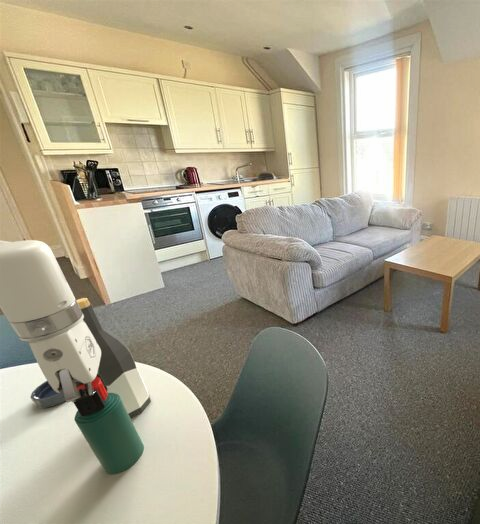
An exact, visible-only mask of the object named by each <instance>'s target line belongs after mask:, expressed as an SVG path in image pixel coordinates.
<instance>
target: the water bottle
mask: <svg viewBox="0 0 480 524" xmlns="http://www.w3.org/2000/svg"><path fill="white" fill-rule="evenodd" d="M107 394H108V395H107V398H106V399H105V400H104V401H103V402H104V404H105V407H104V409H101V410H99V411H97V412H94V413H92V414H89V415H87V416H81V414H80V413H79V411H78V410H77V411H76V412H75V415H74V420H73V421H74V422H75V424H76V425H77V427H78V429H79V431H80V432H81V434H82V436H83V437H84V439H85V441H86V442H87V444H88V446H89V447H90V449H91V450H92V452H93V454H94V455H95V457H96V458H97V460H98V462H99V464H100V465H101V467H102V469H103V471H104V472H105V473H106V474H108V475H117V474H119V473H122V472H124V471H126V470H128V469H129V468H131V467H132V466H133V465H135V464H136V462H138V461H139V459H140V458H141V457H142V455H143V453H144V450H145V449H144V448H145V445H144V443H143V441H142V438H141V437H140V435H139V433H138V431H137V428H136V427H135V425H134V423H133V421H132V419H131V418H130V417H129V414H128V412H127V410H126V408H125V406H124V404H123V402H122V400H121V398H120V396H119V395H118V394H115V393H107Z"/></svg>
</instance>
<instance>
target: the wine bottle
mask: <svg viewBox="0 0 480 524" xmlns="http://www.w3.org/2000/svg"><path fill="white" fill-rule="evenodd" d="M76 301H77V303H78V305H79V307H80V309H81V311H82V313H83V315H84V319H83V320H84V322H85V323H86V325H87V326H88V328H89V330H90V331H91V333H92V335H93V337H94V338H95V340H96V342H97V344H98V345H99V347H100V349H101V358H100V363H99V368H98V371H99V374H100V375H101V377H102V379H103V381H104V383H105V385H106V387H107V388H108V390H107V393H115V394H118V395H119V396H120V398H121V400H122V402H123V404H124V406H125V408H126V410H127V412H128V414H129V417H130V419H131V418H133V417H135V416H138V415H140V414H141V413H143V412H144V410H145V409H146V408H147V407H148V406H149V404H150V403H151V402H152V399H151V396H150V394H149V391H148V388H147V386H146V384H145V382H144V379H143V377H142V375H141V373H140V370H139V367H138V366H137V363H136V361H135V359H134V357H133V354H132V352H131V350H130V348H129V345H127V344H126V342H125V341H124V340H123V339H122V338H121V337H119V336H118V335H116V334H115V333H113V332H112V331H109V330H107V329H105V328H104V327H103V326H102V324H101V322H100V320H99V318H98V316H97V314H96V311H95V309H94V308H93V304H92V302H90V301H89V298H88V297H81V298H79V299H76ZM99 374H97V375H99Z"/></svg>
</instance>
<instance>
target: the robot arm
mask: <svg viewBox="0 0 480 524" xmlns="http://www.w3.org/2000/svg"><path fill="white" fill-rule="evenodd" d="M76 300H77V299H76V297H75V295H74V293H73V290H72V289H71V286H70V285H69V283H68V281H67V279H66V277H65V275H64V273H63V270H62V269H61V266H60V265H59V262H58V261H57V259H56V256H55V254H54V253H53V251H52V249H51V247H50V246H49V245H48V244H47V243H46V242H44V241H41V240H37V239H27V240H25V239H24V240H17V241H6V240H0V310H1V312H2V313H3V315H4V316H5V318H6V319H7V321H8V323H9V324H10V326H11V328H12V329H13V331H14V333H15V334H16V336H17V337H18V339H19V340H20V341H21V342H28V345H29V346H30V349H31V352H32V354H33V356H34V359H35V360H36V362H37V364H38V367H39V369H40V370H41V372H42V373H43V376H44V378H45V379H46V381H48V383H49V384H50V386H51V387H52V388H53V389H54V391H56V392H58V393H62V392H64V396H65V400H66V401H65V402H66V403H70V402H71V403H73V404H74V406H75V408H76V409H77V411H79V413H80V414H81V416H87V415H89V414H92V413H94V412H97V411H99V410H101V409H104V407H105V404H104V402H103V400H102V398H101V396H100V394H99V393H98V391H97V390H94V389H93V387H92V384H91V382H92V381H93V380H94V379H95V377H99V378H100V380H101V381H102V383H103V385H104V387H105V389H106V391H107V390H108V388H107V387H106V385H105V383H104V381H103V379H102V377H101V375H100V374H99V371H98V368H99V363H100V358H101V349H100V347H99V345H98V344H97V342H96V340H95V338H94V337H93V335H92V333H91V331H90V330H89V328H88V326H87V325H86V323H85V322H84V320H83V319H84V315H83V313H82V311H81V309H80V307H79V305H78V303H77V301H76ZM97 374H99V375H97ZM75 380H77V381H75ZM83 384H84V386H85V388H86V389H84V388H82V389H79V390H78V389H77V386H80V385H83Z"/></svg>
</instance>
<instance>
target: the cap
mask: <svg viewBox="0 0 480 524" xmlns="http://www.w3.org/2000/svg"><path fill="white" fill-rule="evenodd" d="M91 384H92V387H93V389H94V390H97V391H98V393H99V394H100V396H101V398H102V400H103V401H104V400H105V399H106V398H107V395H108V394H107V391H106V389H105V387H104V385H103V383H102V381H101V380H100V378H99V377H95V379H94V380H93V381H92V382H91ZM82 388H84V389H86V388H85V386H84V384H83V385H80V386H77V389H78V390H79V389H82Z"/></svg>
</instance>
